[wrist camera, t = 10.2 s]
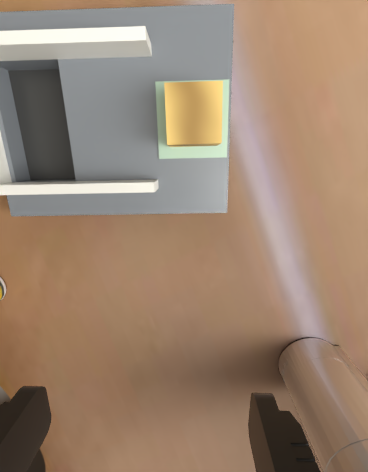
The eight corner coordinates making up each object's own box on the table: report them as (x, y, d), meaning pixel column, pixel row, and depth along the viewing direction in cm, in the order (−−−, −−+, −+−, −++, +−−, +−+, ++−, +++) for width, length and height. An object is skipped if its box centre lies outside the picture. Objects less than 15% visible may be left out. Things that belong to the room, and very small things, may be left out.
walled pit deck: (229, 20, 26) (241, -23, 20) (223, 207, 32) (232, 219, 26) (-13, 29, 26) (-74, -11, 20) (27, 211, 32) (-12, 223, 26)
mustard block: (216, 93, 25) (222, 80, 21) (216, 145, 27) (221, 143, 22) (168, 95, 25) (164, 82, 21) (170, 147, 27) (167, 144, 22)
